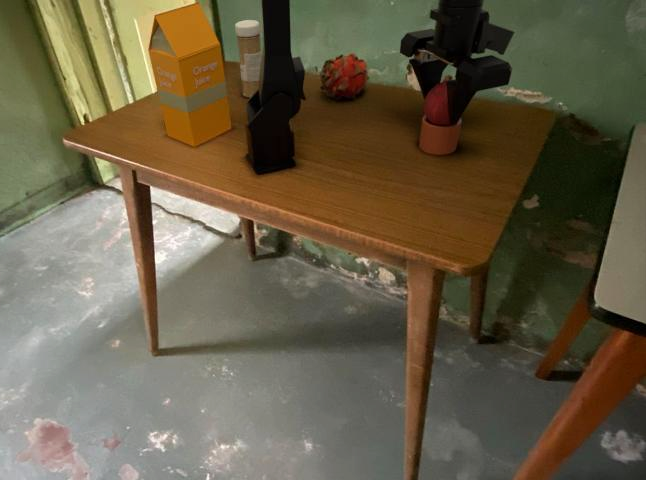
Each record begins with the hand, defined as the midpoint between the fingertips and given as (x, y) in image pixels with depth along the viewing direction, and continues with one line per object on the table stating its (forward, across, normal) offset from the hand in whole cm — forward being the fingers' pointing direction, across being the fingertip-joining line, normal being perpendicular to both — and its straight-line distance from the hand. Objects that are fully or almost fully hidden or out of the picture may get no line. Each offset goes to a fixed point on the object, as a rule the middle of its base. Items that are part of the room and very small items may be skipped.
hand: (441, 115), depth 75 cm
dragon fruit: (+5, +26, +4) cm, 27 cm away
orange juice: (+5, +23, +34) cm, 41 cm away
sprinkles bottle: (+5, +35, +20) cm, 41 cm away
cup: (+5, 0, 0) cm, 5 cm away
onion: (+2, 0, 0) cm, 2 cm away
